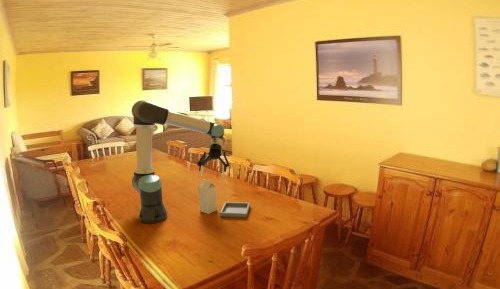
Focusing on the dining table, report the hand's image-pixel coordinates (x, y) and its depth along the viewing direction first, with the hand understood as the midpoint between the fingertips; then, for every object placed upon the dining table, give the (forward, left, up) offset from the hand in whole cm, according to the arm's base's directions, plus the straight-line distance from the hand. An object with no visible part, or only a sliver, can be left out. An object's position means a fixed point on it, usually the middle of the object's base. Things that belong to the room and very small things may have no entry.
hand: (211, 176), depth 182 cm
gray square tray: (+15, -9, -18) cm, 26 cm away
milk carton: (-1, -9, -18) cm, 21 cm away
